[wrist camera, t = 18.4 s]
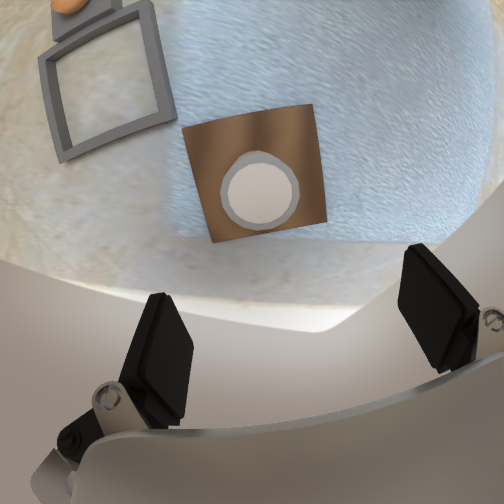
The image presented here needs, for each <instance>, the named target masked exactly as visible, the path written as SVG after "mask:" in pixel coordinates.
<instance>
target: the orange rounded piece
mask: <svg viewBox="0 0 504 504" xmlns="http://www.w3.org/2000/svg"><path fill="white" fill-rule="evenodd" d="M87 2H88V0H51V8H52V10H53V11H56V12H59V13H62V14H65V15H69V14H72V13H75V12H76V11H78V10H79V9H81V8H82V7H83V6H84V5H85V4H86V3H87Z"/></svg>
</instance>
